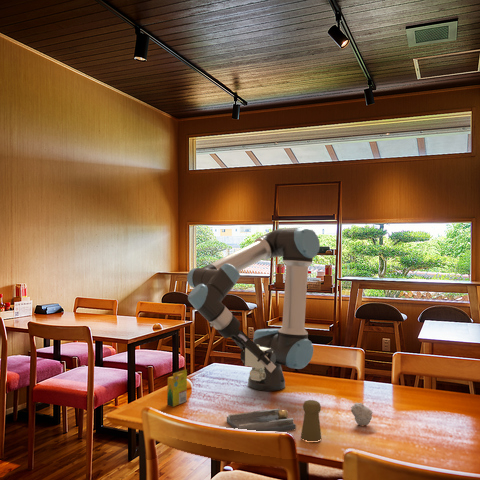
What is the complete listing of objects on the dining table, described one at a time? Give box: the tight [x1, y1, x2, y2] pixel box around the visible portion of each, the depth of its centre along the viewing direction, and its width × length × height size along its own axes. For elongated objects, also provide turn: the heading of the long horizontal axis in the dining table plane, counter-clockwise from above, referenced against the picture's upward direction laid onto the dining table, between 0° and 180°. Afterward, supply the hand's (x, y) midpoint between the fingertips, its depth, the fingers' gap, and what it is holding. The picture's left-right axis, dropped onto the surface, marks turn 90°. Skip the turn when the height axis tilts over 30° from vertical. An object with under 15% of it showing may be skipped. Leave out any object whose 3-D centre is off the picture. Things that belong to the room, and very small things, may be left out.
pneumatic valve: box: [240, 345, 276, 381], centre depth 156 cm, size 6×12×12 cm, turn 59°
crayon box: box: [166, 369, 188, 408], centre depth 161 cm, size 7×3×12 cm, turn 145°
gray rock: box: [350, 402, 374, 426], centre depth 144 cm, size 6×7×7 cm
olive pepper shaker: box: [300, 399, 322, 441], centre depth 133 cm, size 6×6×11 cm
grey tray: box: [226, 408, 297, 432], centre depth 142 cm, size 18×13×4 cm
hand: (266, 365), depth 157 cm, fingers closed on pneumatic valve, 10 cm apart
